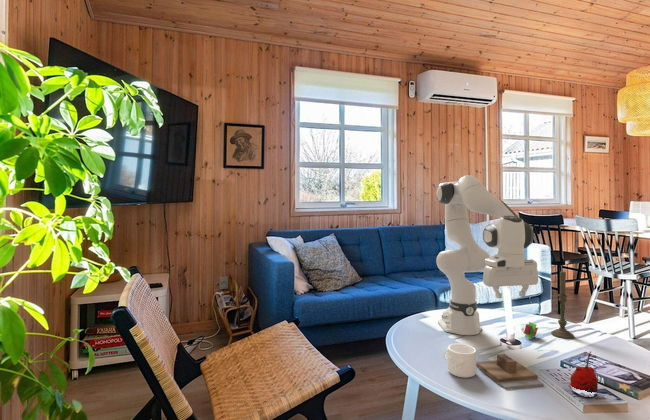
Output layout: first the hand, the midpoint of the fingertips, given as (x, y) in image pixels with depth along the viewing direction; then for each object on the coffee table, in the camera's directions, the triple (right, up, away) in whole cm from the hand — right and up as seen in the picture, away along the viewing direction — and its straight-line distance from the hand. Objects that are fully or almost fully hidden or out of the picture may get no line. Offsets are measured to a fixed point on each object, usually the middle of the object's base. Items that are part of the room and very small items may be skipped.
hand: (510, 297), depth 141 cm
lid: (-4, -26, -4) cm, 27 cm away
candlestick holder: (+40, -25, +34) cm, 58 cm away
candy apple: (+15, -27, -18) cm, 36 cm away
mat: (-4, -27, -4) cm, 27 cm away
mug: (-20, -27, -2) cm, 34 cm away
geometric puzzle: (+24, -26, +32) cm, 47 cm away
